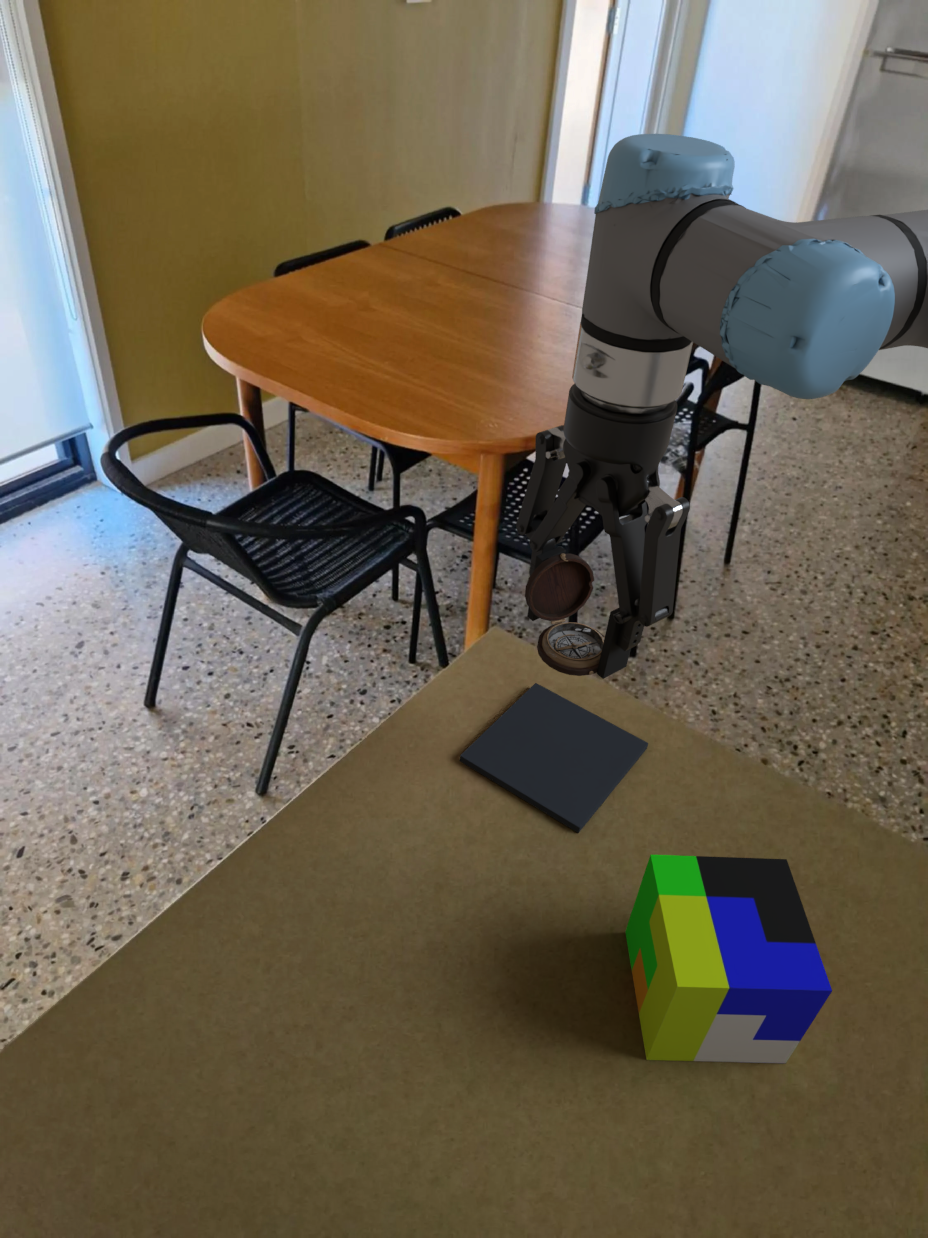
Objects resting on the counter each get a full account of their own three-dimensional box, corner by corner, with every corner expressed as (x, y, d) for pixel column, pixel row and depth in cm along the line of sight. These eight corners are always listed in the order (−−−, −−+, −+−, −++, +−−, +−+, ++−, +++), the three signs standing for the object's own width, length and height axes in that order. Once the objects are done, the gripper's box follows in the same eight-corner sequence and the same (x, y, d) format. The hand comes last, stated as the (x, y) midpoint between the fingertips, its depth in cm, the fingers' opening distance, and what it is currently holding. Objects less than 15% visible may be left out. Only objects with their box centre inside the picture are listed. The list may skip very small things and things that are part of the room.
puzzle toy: (785, 1063, 63) (832, 991, 57) (646, 1060, 62) (677, 986, 56) (749, 935, 71) (786, 859, 64) (625, 931, 70) (650, 854, 64)
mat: (647, 748, 86) (648, 742, 85) (578, 833, 77) (579, 827, 77) (534, 688, 91) (535, 682, 91) (459, 761, 83) (459, 755, 82)
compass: (556, 686, 71) (569, 615, 67) (517, 625, 77) (527, 556, 72) (643, 667, 74) (661, 597, 69) (599, 609, 79) (613, 542, 75)
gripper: (487, 346, 65) (465, 591, 80) (705, 471, 53) (632, 734, 67) (562, 328, 69) (528, 565, 83) (781, 440, 57) (697, 695, 71)
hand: (575, 640), depth 75 cm, fingers closed on compass, 8 cm apart
